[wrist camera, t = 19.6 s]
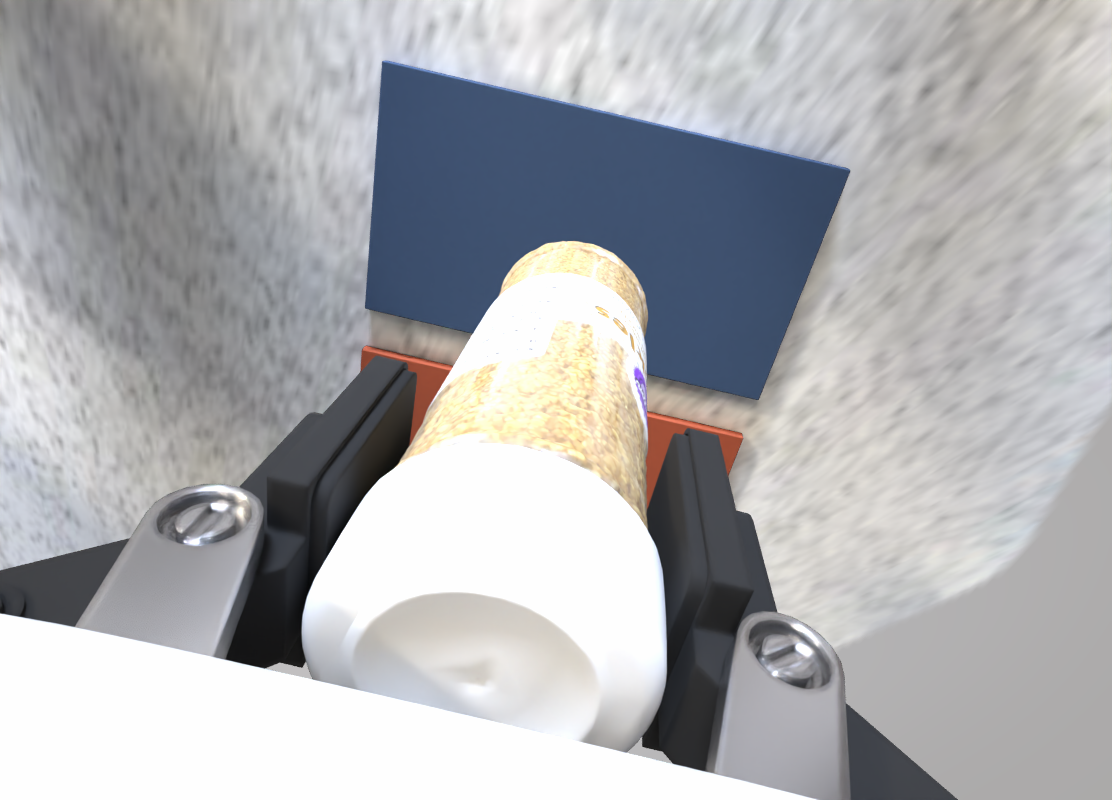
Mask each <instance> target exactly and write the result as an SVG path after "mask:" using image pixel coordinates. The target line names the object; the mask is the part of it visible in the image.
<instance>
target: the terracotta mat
mask: <svg viewBox="0 0 1112 800" xmlns="http://www.w3.org/2000/svg"><path fill="white" fill-rule="evenodd" d="M376 355H377V356H381V357H386V358H390V359H394V360H399V361H403V362H407V364H408V371H412V372H416V373H417V385H416V394H415V402H414V411H413V419H412V428H411V436H410V445H411V443H412V441H413V439H414V437H415V435H416V433H417V431H418V430H419V428H420V427H421V425H422V424H423V420H424V417H425V415H426V412H427V410H428V408H429V406H430V404H431V403H432V401H433V399H434V398H435V396H436V394H437V393H438V391H439V389H440V388H441V386H442V384H443V383H444V381H445V380H446V378H447V376H448V375H449V373H450V371H451V370H452V368H453V366H451V365H446V364H442V363H438V362H434V361H429V360H425V359H421V358H416V357H412V356H408V355H404V354H399V353H395V352H391V351H386V350H382V349H378V348H373V347H369V346H365V347H364V348H363V349H362V357H361V371H362V370H363V369H364V368H365V367H366V365H367V364H368V363H369V362H370V361H371V360H372V359H373V358H374V357H375V356H376ZM361 371H360V372H361ZM647 423H648V452H647V457H646V467H647V471H646V481H647V491H646V492H647V508H648V506H649V503H650V500H651V497H652V494H653V491H654V488H655V485H656V482H657V479H658V476H659V473H660V470H661V467H662V464H663V461H664V458H665V455H666V453H667V450H668V447H669V444H670V441H671V438H672V436H673V434H674V433H678V434H682V435H683V434H684V432H685V430H686V429H687V428H690V429H694V430H699V431H703V432H707V433H712V434H716V435H718V436H719V440H720V444H721V448H722V452H723V457H724V461H725V465H726V470H727V474H728V475H729V472H730V470H731V468H732V465H733V463H734V460H735V458H736V455H737V453H738V450H739V448H740V445H741V443H742V440H743V436H742V433H739V432H734V431H730V430H726V429H721V428H717V427H713V426H709V425H704V424H700V423H696V422H691V421H687V420H683V419H679V418H674V417H670V416H666V415H661V414H657V413H653V412H648V411H647ZM410 445H409V446H410Z"/></svg>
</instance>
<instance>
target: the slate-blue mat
mask: <svg viewBox="0 0 1112 800" xmlns="http://www.w3.org/2000/svg"><path fill="white" fill-rule="evenodd" d="M849 173H850V169H848V168H844V167H840V166H836V165H832V164H827V163H823V162H819V161H814V160H810V159H806V158H802V157H797V156H793V155H789V154H784V153H780V152H776V151H772V150H767V149H763V148H759V147H754V146H750V145H746V144H742V143H737V142H733V141H729V140H724V139H720V138H716V137H712V136H707V135H703V134H699V133H695V132H690V131H686V130H682V129H677V128H673V127H669V126H665V125H660V124H656V123H652V122H647V121H643V120H639V119H635V118H630V117H626V116H622V115H617V114H613V113H609V112H605V111H600V110H596V109H592V108H587V107H583V106H579V105H575V104H570V103H566V102H562V101H557V100H553V99H549V98H545V97H540V96H536V95H532V94H527V93H523V92H519V91H515V90H510V89H506V88H502V87H498V86H493V85H489V84H485V83H480V82H476V81H472V80H468V79H463V78H459V77H455V76H450V75H446V74H442V73H438V72H433V71H429V70H425V69H420V68H416V67H412V66H408V65H403V64H399V63H395V62H390V61H383V62H382V73H381V87H380V101H379V116H378V130H377V144H376V158H375V173H374V187H373V201H372V216H371V230H370V244H369V258H368V273H367V287H366V301H365V308H366V309H369V310H374V311H378V312H382V313H387V314H391V315H395V316H399V317H404V318H408V319H412V320H417V321H421V322H425V323H429V324H434V325H438V326H442V327H447V328H451V329H455V330H460V331H464V332H468V333H472V334H473V333H474V331H475V330H476V328H477V327H478V325H479V324H480V322H481V320H482V319H483V317H484V315H485V314H486V312H487V311H488V309H489V308H490V306H491V305H492V304H493V303H494V301H495V300H496V299H497V298H498V296H499V294H500V292H501V287H502V284H503V281H504V279H505V277H506V276H507V274H508V273H509V272H510V270H511V269H512V267H513V266H514V265H515V264H516V263H517V262H518V261H519V260H520V259H521V258H523V257H524V256H525V255H526V254H528V253H529V252H531V251H534V250H536V249H538V248H539V247H541V246H543V245H545V244H548V243H556V242H562V241H565V242H567V241H577V242H582V243H589V244H594V245H596V246H599V247H601V248H603V249H605V250H607V251H609V252H612V253H614V254H615V255H616V256H617V257H618V258H619V259H620V260H622V261H623V262H624V263H625V264H626V265H627V266H628V267H629V268H630V270H631V271H632V272H633V273H634V274H635V276H636V278H637V279H638V281H639V283H640V285H641V287H642V289H643V291H644V294H645V298H646V305H647V310H648V322H647V328H646V334H645V337H644V340H645V345H646V357H647V374H649V375H653V376H657V377H661V378H666V379H670V380H674V381H679V382H683V383H687V384H691V385H696V386H700V387H704V388H709V389H713V390H717V391H722V392H726V393H730V394H734V395H739V396H743V397H747V398H752V399H756V400H758V399H759V398H760V395H761V393H762V390H763V388H764V385H765V383H766V380H767V378H768V375H769V373H770V370H771V368H772V365H773V363H774V360H775V358H776V355H777V353H778V350H779V348H780V345H781V343H782V340H783V338H784V335H785V333H786V330H787V328H788V325H789V323H790V320H791V318H792V315H793V313H794V310H795V308H796V305H797V303H798V300H799V298H800V295H801V293H802V290H803V288H804V285H805V283H806V280H807V278H808V275H809V273H810V270H811V268H812V265H813V263H814V260H815V258H816V255H817V253H818V251H819V248H820V246H821V243H822V241H823V238H824V236H825V233H826V231H827V228H828V226H829V223H830V221H831V218H832V216H833V213H834V211H835V208H836V206H837V203H838V201H839V198H840V196H841V193H842V191H843V188H844V186H845V183H846V181H847V178H848V176H849Z"/></svg>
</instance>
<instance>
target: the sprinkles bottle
mask: <svg viewBox="0 0 1112 800" xmlns="http://www.w3.org/2000/svg"><path fill="white" fill-rule="evenodd" d="M647 322H648V310H647V305H646V298H645V294H644V291H643V289H642V287H641V285H640V283H639V281H638V279H637V278H636V276H635V274H634V273H633V272H632V271H631V270H630V268H629V267H628V266H627V265H626V264H625V263H624V262H623V261H622V260H620V259H619V258H618V257H617V256H616V255H615V254H614V253H612V252H609V251H607V250H605V249H603V248H601V247H599V246H596V245H594V244H589V243H582V242H577V241H567V242H565V241H562V242H556V243H548V244H545V245H543V246H541V247H539V248H538V249H536V250H534V251H531V252H529V253H528V254H526V255H525V256H524V257H523V258H521V259H520V260H519V261H518V262H517V263H516V264H515V265H514V266H513V267H512V269H511V270H510V272H509V273H508V274H507V276H506V277H505V279H504V281H503V284H502V287H501V292H500V294H499V296H498V298H497V299H496V300H495V301H494V303H493V304H492V305H491V306H490V308H489V309H488V311H487V312H486V314H485V315H484V317H483V319H482V320H481V322H480V324H479V325H478V327H477V328H476V330H475V331H474V333H473V335H472V336H471V338H470V339H469V341H468V343H467V345H466V346H465V348H464V350H463V351H462V353H461V355H460V356H459V358H458V360H457V361H456V363H455V365H454V366H453V368H452V370H451V371H450V373H449V375H448V376H447V378H446V380H445V381H444V383H443V384H442V386H441V388H440V389H439V391H438V393H437V394H436V396H435V398H434V399H433V401H432V403H431V404H430V406H429V408H428V410H427V412H426V415H425V417H424V420H423V424H422V425H421V427H420V428H419V430H418V431H417V433H416V435H415V437H414V439H413V441H412V443H411V445H410V446H409V447H408V449H407V450H406V452H405V454H404V455H403V457H402V458H401V459H400V462H399V464H398V465H397V466H396V467H395V468H394V469H393V470H391V471H390V472H389V473H388V474H386V475H385V476H384V477H382V478H381V479H379V481H378V482H377V483H376V484H375V485H374V486H373V487H372V489H371V490H370V491H369V492H368V493H367V494H366V496H365V497H364V499H363V500H362V502H361V503H360V504H359V506H358V507H357V509H356V511H355V512H354V514H353V515H352V517H351V519H350V520H349V522H348V524H347V525H346V527H345V528H344V530H343V532H342V533H341V535H340V537H339V538H338V540H337V542H336V543H335V545H334V547H333V548H332V550H331V552H330V553H329V555H328V557H327V558H326V560H325V562H324V564H323V565H322V567H321V569H320V570H319V572H318V574H317V575H316V577H315V579H314V581H313V584H312V586H311V589H310V591H309V594H308V596H307V599H306V603H305V607H304V611H303V616H302V647H303V651H304V655H305V659H306V663H307V666H308V669H309V672H310V674H311V676H312V679H313V680H316V681H321V682H325V683H330V684H334V685H338V686H343V687H347V688H352V689H356V690H360V691H365V692H369V693H373V694H377V695H382V696H386V697H390V698H395V699H399V700H403V701H408V702H412V703H416V704H421V705H425V706H429V707H434V708H438V709H442V710H446V711H451V712H455V713H459V714H464V715H468V716H472V717H476V718H481V719H485V720H489V721H494V722H498V723H502V724H506V725H511V726H515V727H519V728H524V729H528V730H532V731H536V732H541V733H545V734H549V735H553V736H558V737H562V738H566V739H571V740H575V741H579V742H583V743H587V744H591V745H596V746H600V747H604V748H608V749H612V750H617V751H621V752H625V753H627V752H628V751H629V750H630V749H631V748H632V747H633V746H634V745H635V744H636V743H637V742H638V741H639V740H640V738H641V737H642V736H643V735H644V733H645V732H646V731H647V730H648V728H649V726H650V725H651V723H652V721H653V719H654V717H655V715H656V713H657V711H658V708H659V706H660V704H661V701H662V697H663V693H664V689H665V686H666V676H667V632H666V609H665V594H664V581H663V570H662V566H661V562H660V558H659V555H658V551H657V548H656V546H655V543H654V542H653V540H652V538H651V536H650V534H649V532H648V524H647V515H646V514H647V492H646V491H647V481H646V471H647V467H646V457H647V452H648V423H647V389H646V387H647V357H646V345H645V340H644V337H645V334H646V328H647Z"/></svg>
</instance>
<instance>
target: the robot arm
mask: <svg viewBox="0 0 1112 800" xmlns="http://www.w3.org/2000/svg"><path fill="white" fill-rule="evenodd" d="M416 385H417V373H416V372H412V371H408V364H407V362H403V361H399V360H394V359H390V358H386V357H381V356H377V355H376V356H375V357H374V358H373V359H372V360H371V361H370V362H369V363H368V364H367V365H366V367H365V368H364V369H363V370H362V371H361V372H360V373H359V374H358V376H357V377H356V378H355V379H354V380H353V381H352V382H351V383H350V384H349V386H348V387H347V388H346V389H345V390H344V391H343V392H342V393H341V394H340V396H339V397H338V398H337V399H336V400H335V401H334V402H333V403H332V405H331V406H330V407H329V408H328V409H327V410H326V411H325V412H324V413H323V414H319V413H315V412H314V413H310V414H308V415H307V416H306V417H305V418H304V419H303V420H302V421H301V422H300V423H299V424H298V425H297V426H296V427H295V428H294V429H293V430H292V432H291V433H290V434H289V435H288V436H287V437H286V438H285V439H284V440H283V441H282V442H281V443H280V444H279V445H278V446H277V448H276V449H275V450H274V451H273V452H272V453H271V454H270V455H269V456H268V457H267V458H266V459H265V460H264V461H263V462H262V463H261V465H260V466H259V467H258V468H257V469H256V470H255V471H254V472H253V473H252V474H251V475H250V476H249V477H248V478H247V479H246V480H245V482H244V483H243V484H242V485H241V486H240V487H237V486H231V485H225V484H202V485H197V486H191V487H186V488H183V489H181V490H178V491H175V492H172V493H170V494H168V495H166V496H165V497H163V498H161V499H160V500H158V501H157V502H155V503H154V504H153V506H152V507H151V508H150V509H149V510H148V511H147V512H146V513H145V515H144V517H143V518H142V520H141V521H140V523H139V525H138V526H137V528H136V529H135V531H134V533H133V534H132V536H131V537H130V538H129V539H125V540H121V541H117V542H113V543H109V544H105V545H101V546H97V547H93V548H89V549H85V550H81V551H77V552H73V553H69V554H65V555H61V556H57V557H53V558H49V559H45V560H41V561H37V562H33V563H29V564H25V565H21V566H17V567H12V568H8V569H4V570H0V800H958V799H956V798H955V797H954V796H953V795H952V794H951V793H949V792H948V791H947V790H946V789H945V788H944V787H942V786H941V785H940V784H939V783H938V782H937V781H935V780H934V779H933V778H932V777H931V776H930V775H929V774H927V773H926V772H925V771H924V770H923V769H922V768H920V767H919V766H918V765H917V764H916V763H915V762H914V761H912V760H911V759H910V758H909V757H908V756H907V755H905V754H904V753H903V752H902V751H901V750H900V749H898V748H897V747H896V746H895V745H894V744H893V743H892V742H890V741H889V740H888V739H887V738H886V737H885V736H883V735H882V734H881V733H880V732H879V731H878V730H876V729H875V728H874V727H873V726H872V725H870V723H868V722H867V721H866V720H865V719H864V718H863V717H861V716H860V715H859V714H858V713H857V712H855V711H854V710H853V709H852V708H851V707H850V706H849V705H847V704H846V699H845V698H846V697H845V677H844V672H843V668H842V663H841V661H840V659H839V657H838V656H837V654H836V652H835V651H834V649H833V648H832V646H831V645H830V644H829V643H828V642H827V641H826V640H825V639H824V638H823V637H822V636H821V635H820V634H819V633H817V632H816V631H815V630H813V629H812V628H811V627H809V626H808V625H807V624H805V623H803V622H801V621H799V620H797V619H795V618H793V617H791V616H787V615H784V614H781V613H777V609H776V605H775V602H774V598H773V594H772V590H771V586H770V583H769V579H768V575H767V571H766V568H765V564H764V560H763V556H762V552H761V549H760V545H759V541H758V537H757V534H756V530H755V526H754V522H753V520H752V517H751V515H749V514H748V513H744V512H740V511H736V508H735V504H734V500H733V495H732V491H731V487H730V483H729V478H728V474H727V470H726V465H725V461H724V457H723V452H722V448H721V444H720V440H719V436H718V435H716V434H712V433H707V432H703V431H699V430H694V429H690V428H687V429H686V430H685V432H684V434H683V435H682V434H678V433H674V434H673V436H672V438H671V441H670V444H669V447H668V450H667V453H666V455H665V458H664V461H663V464H662V467H661V470H660V473H659V476H658V479H657V482H656V485H655V488H654V491H653V494H652V497H651V500H650V503H649V506H648V508H647V514H646V515H647V524H648V532H649V534H650V536H651V538H652V540H653V542H654V543H655V546H656V548H657V551H658V555H659V558H660V562H661V566H662V570H663V581H664V594H665V609H666V632H667V676H666V686H665V689H664V693H663V697H662V701H661V704H660V706H659V708H658V711H657V713H656V715H655V717H654V719H653V721H652V723H651V725H650V726H649V728H648V730H647V731H646V732H645V733H644V735H643V736H642V746H643V747H645V748H649V749H654V750H658V751H662V752H664V754H665V755H666V756H667V757H668V758H669V760H671V762H672V763H673V764H671V763H667V762H663V761H658V760H654V759H650V758H645V757H642V756H637V755H633V754H629V753H625V752H621V751H617V750H612V749H608V748H604V747H600V746H596V745H591V744H587V743H583V742H579V741H575V740H571V739H566V738H562V737H558V736H553V735H549V734H545V733H541V732H536V731H532V730H528V729H524V728H519V727H515V726H511V725H506V724H502V723H498V722H494V721H489V720H485V719H481V718H476V717H472V716H468V715H464V714H459V713H455V712H451V711H446V710H442V709H438V708H434V707H429V706H425V705H421V704H416V703H412V702H408V701H403V700H399V699H395V698H390V697H386V696H382V695H377V694H373V693H369V692H365V691H360V690H356V689H352V688H347V687H343V686H338V685H334V684H330V683H325V682H321V681H316V680H312V679H308V678H303V677H299V676H294V675H290V674H285V673H281V672H277V671H272V670H268V669H265V668H267V667H270V666H272V665H274V664H277V663H284V664H289V665H293V666H297V667H301V668H302V667H303V665H304V663H305V662H306V659H305V655H304V651H303V647H302V616H303V611H304V607H305V603H306V599H307V596H308V594H309V591H310V589H311V586H312V584H313V581H314V579H315V577H316V575H317V574H318V572H319V570H320V569H321V567H322V565H323V564H324V562H325V560H326V558H327V557H328V555H329V553H330V552H331V550H332V548H333V547H334V545H335V543H336V542H337V540H338V538H339V537H340V535H341V533H342V532H343V530H344V528H345V527H346V525H347V524H348V522H349V520H350V519H351V517H352V515H353V514H354V512H355V511H356V509H357V507H358V506H359V504H360V503H361V502H362V500H363V499H364V497H365V496H366V494H367V493H368V492H369V491H370V490H371V489H372V487H373V486H374V485H375V484H376V483H377V482H378V481H379V479H381V478H382V477H384V476H385V475H386V474H388V473H389V472H390V471H391V470H393V469H394V468H395V467H396V466H397V465H398V464H399V462H400V459H401V458H402V457H403V455H404V454H405V452H406V450H407V449H408V447H409V445H410V436H411V428H412V419H413V411H414V402H415V394H416Z"/></svg>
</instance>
